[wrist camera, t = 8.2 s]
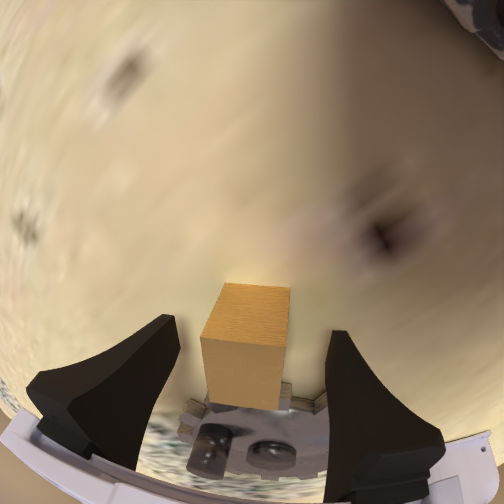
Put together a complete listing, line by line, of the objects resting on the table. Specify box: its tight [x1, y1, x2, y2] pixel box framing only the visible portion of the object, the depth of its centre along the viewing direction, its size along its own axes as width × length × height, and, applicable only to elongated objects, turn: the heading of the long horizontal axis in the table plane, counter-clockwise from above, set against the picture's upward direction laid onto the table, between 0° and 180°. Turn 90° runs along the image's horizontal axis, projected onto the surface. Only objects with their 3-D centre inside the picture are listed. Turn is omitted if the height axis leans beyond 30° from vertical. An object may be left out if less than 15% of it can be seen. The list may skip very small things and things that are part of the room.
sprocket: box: [177, 383, 330, 481], centre depth 16 cm, size 14×14×5 cm
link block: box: [200, 283, 290, 411], centre depth 12 cm, size 4×3×4 cm
